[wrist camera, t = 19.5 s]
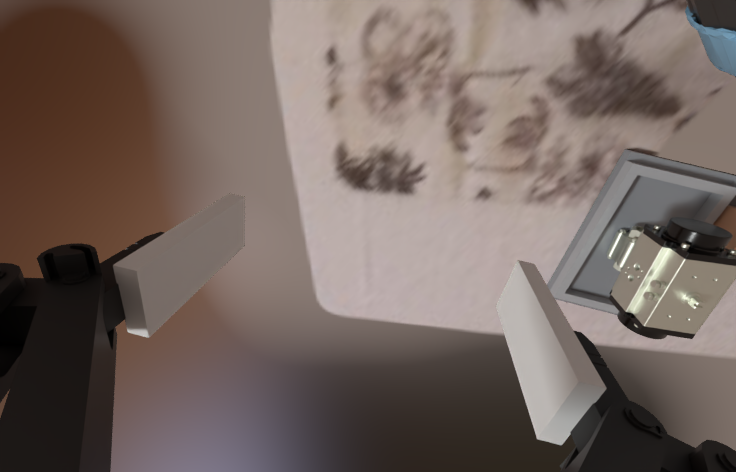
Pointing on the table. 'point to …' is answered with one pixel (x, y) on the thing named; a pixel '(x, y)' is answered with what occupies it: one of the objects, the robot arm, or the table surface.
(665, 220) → the grey tray
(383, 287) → the table surface
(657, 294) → the pneumatic valve
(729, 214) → the tan cardboard box
